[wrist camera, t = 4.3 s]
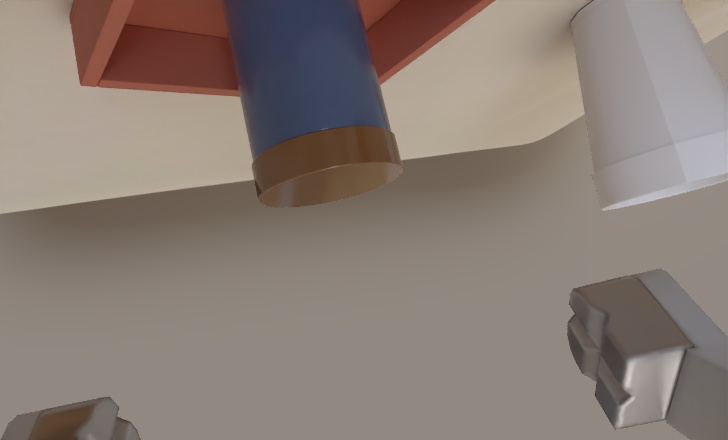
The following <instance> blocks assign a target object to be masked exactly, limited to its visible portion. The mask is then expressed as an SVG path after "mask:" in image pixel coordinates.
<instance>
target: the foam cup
mask: <svg viewBox="0 0 728 440" xmlns="http://www.w3.org/2000/svg"><path fill="white" fill-rule="evenodd" d="M571 26H572V35H573V42H574V48H575V54H576V61H577V67H578V73H579V80H580V86H581V92H582V99H583V105H584V111H585V118H586V124H587V130H588V136H589V143H590V149H591V155H592V162H593V168H594V174H593V175H592V179H593V182H594V185H595V188H596V192H597V195H598V199H599V202H600V205H601V208H602V210H609V209H616V208H621V207H626V206H631V205H636V204H640V203H645V202H649V201H653V200H657V199H661V198H665V197H669V196H673V195H677V194H680V193H684V192H688V191H692V190H696V189H699V188H703V187H707V186H710V185H714V184H717V183H721V182H724V181H727V180H728V87H727V85H726V84H725V82H724V80H723V78H722V76H721V74H720V72H719V71H718V69H717V67H716V65H715V63H714V61H713V60H712V58H711V56H710V54H709V52H708V50H707V49H706V47H705V45H704V43H703V41H702V39H701V38H700V36H699V34H698V32H697V30H696V28H695V26H694V25H693V23H692V21H691V19H690V17H689V15H688V14H687V12H686V10H685V8H684V6H683V4H682V3H681V1H680V0H593V1H592V2H591V3H589V4H588V5H587V6H585V7H584V8H583V9H581V10H580V11H579V12H578V13H577V15H576V16H575V17H574V19H573V20H572V21H571Z"/></svg>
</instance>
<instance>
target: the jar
mask: <svg viewBox="0 0 728 440" xmlns="http://www.w3.org/2000/svg"><path fill="white" fill-rule="evenodd" d="M220 1H221V6H222V11H223V16H224V21H225V26H226V30H227V35H228V40H229V45H230V50H231V55H232V60H233V65H234V70H235V75H236V80H237V85H238V89H239V94H240V99H241V104H242V109H243V114H244V119H245V124H246V129H247V134H248V139H249V143H250V148H251V153H252V158H253V163H252V170H253V175H254V180H255V185H256V190H257V195H258V200H259V202H260V203H261V204H263V205H266V206H270V207H300V206H308V205H315V204H322V203H327V202H332V201H336V200H341V199H345V198H348V197H352V196H356V195H359V194H362V193H365V192H368V191H371V190H373V189H376V188H378V187H381V186H383V185H385V184H387V183H389V182H391V181H392V180H394V179H396V178H397V177H398V176H399V175H400V174H401V173H402V171H403V167H402V163H401V159H400V155H399V150H398V146H397V142H396V138H395V135H394V134H393V133H392V132H391V128H390V124H389V120H388V116H387V112H386V108H385V104H384V100H383V96H382V92H381V87H380V83H379V79H378V75H377V71H376V67H375V63H374V59H373V55H372V51H371V47H370V43H369V39H368V35H367V31H366V27H365V23H364V19H363V15H362V10H361V6H360V2H359V0H220Z"/></svg>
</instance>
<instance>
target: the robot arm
mask: <svg viewBox="0 0 728 440" xmlns="http://www.w3.org/2000/svg"><path fill="white" fill-rule="evenodd" d="M569 305H570V306H571V308H572V310H573V311H574V313H575V314H574V315H573V316H572V318H571V319H570V320H569V321H568V334H567V335H568V340H569V344H570V349H571V352H572V354H573V356H574V359H575V361H576V363H577V365H578V367H579V369H580V370H581V372H582V374H584V375H586V376H588V377H589V378H591V379H592V380H594V381H596V382H597V384H596V391H595V396H596V398H597V400H598V402H599V403H600V405H601V407H602V409H603V410H604V412H605V414H606V415H607V417H608V419H609V420H610V422H611V424H612V425H613V427H614V429H615V430H617V429H622V428H627V427H632V426H637V425H642V424H647V423H652V422H657V421H662V420H667V421H666V423H667V424H669V425H670V426H672V427H673V428H675V429H676V430H677V431H679V432H680V433H682V434H683V435H684V436H686V437H687V438H689V439H690V440H728V337H727V336H726V334H725V333H724V332H723V331H722V330H721V329H720V328H719V327H718V326H717V325H716V324H715V323H714V321H713V320H712V319H711V318H710V317H709V316H708V315H707V314H706V313H705V312H704V311H703V310H702V309H701V307H699V305H698V304H697V303H696V302H695V301H694V300H693V299H692V298H691V297H690V296H689V295H688V293H687V292H686V291H685V290H684V289H683V288H682V287H681V286H680V285H679V284H678V283H677V282H676V280H674V278H673V277H672V276H671V275H670V274H669V273H668V272H667V271H665V270H662V269H661V268H660V269H655V270H651V271H647V272H642V273H638V274H634V275H631V276H623V277H619V278H615V279H611V280H607V281H603V282H599V283H594V284H590V285H586V286H582V287H578V288H574V289H573V290H572V292H571V293H570V302H569ZM118 410H119V406H118V405H117V404H116V403H115V402H114V401H113V400H112V399H111V398H110V397H103V398H98V399H92V400H88V401H83V402H78V403H73V404H68V405H63V406H58V407H53V408H48V409H44V410H40V411H35V412H30V413H25V414H21V415H17V416H16V417H15V418H14V419H13V420H12V421H11V422H10V423H9V424H8V425H7V427H6V430H5V432H4V434H3V436H2V438H1V440H141V439H140V437H139V434H138V431H137V429H136V428H135V427H134V425H133V424H132V423H131V422H130V421H127V420H124V419H122V418H119V417H117V414H118Z"/></svg>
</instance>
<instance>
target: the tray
mask: <svg viewBox="0 0 728 440" xmlns="http://www.w3.org/2000/svg"><path fill="white" fill-rule="evenodd" d="M494 1H495V0H359V2H360V6H361V10H362V15H363V19H364V23H365V27H366V31H367V35H368V39H369V43H370V47H371V51H372V55H373V59H374V63H375V67H376V71H377V75H378V79H379V83H380V85H381V84H382V83H384V82H385V81H386V80H388V79H389V78H390V77H392V76H393V75H394V74H396V73H397V72H399V71H400V70H401V69H403V68H404V67H405V66H407V65H408V64H409V63H411V62H412V61H413V60H415V59H416V58H418V57H419V56H420V55H422V54H423V53H424V52H426V51H427V50H428V49H430V48H431V47H432V46H434V45H435V44H437V43H438V42H439V41H441V40H442V39H443V38H445V37H446V36H447V35H449V34H450V33H451V32H453V31H454V30H456V29H457V28H458V27H460V26H461V25H462V24H464V23H465V22H466V21H468V20H469V19H470V18H472V17H473V16H475V15H476V14H477V13H479V12H480V11H481V10H483V9H484V8H485V7H487V6H488V5H489V4H491V3H492V2H494ZM70 23H71V29H72V35H73V42H74V48H75V54H76V61H77V67H78V74H79V80H80V85H81V86H92V87H96V86H98V87H104V88H119V89H134V90H149V91H164V92H179V93H194V94H209V95H224V96H239V97H240V94H239V89H238V85H237V80H236V75H235V70H234V65H233V60H232V55H231V50H230V45H229V40H228V35H227V30H226V26H225V21H224V16H223V11H222V6H221V1H220V0H74V3H73V7H72V10H71V14H70Z"/></svg>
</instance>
